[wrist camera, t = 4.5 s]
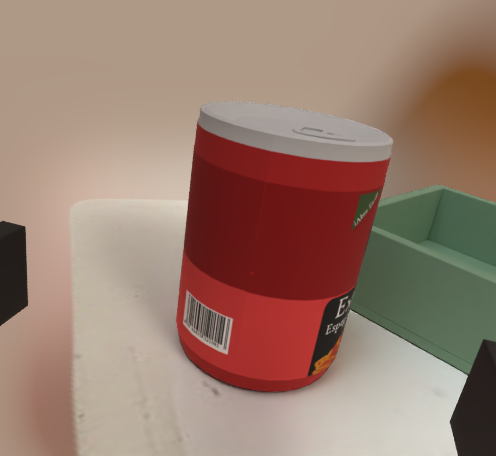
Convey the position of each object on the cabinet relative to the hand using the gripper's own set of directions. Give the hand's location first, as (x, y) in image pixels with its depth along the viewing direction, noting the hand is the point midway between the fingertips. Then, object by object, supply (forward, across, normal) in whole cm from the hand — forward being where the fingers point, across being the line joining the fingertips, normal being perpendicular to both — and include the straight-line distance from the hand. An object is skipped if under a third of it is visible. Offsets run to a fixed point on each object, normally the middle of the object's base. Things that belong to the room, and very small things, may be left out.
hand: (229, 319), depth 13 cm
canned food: (+8, 0, -7) cm, 11 cm away
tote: (+18, +13, -6) cm, 23 cm away
